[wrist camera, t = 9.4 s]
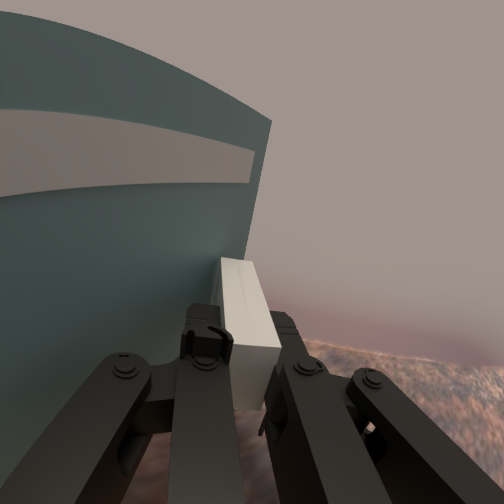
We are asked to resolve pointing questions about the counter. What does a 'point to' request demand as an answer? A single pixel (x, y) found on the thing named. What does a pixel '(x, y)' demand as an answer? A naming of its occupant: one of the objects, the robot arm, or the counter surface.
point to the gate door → (107, 210)
